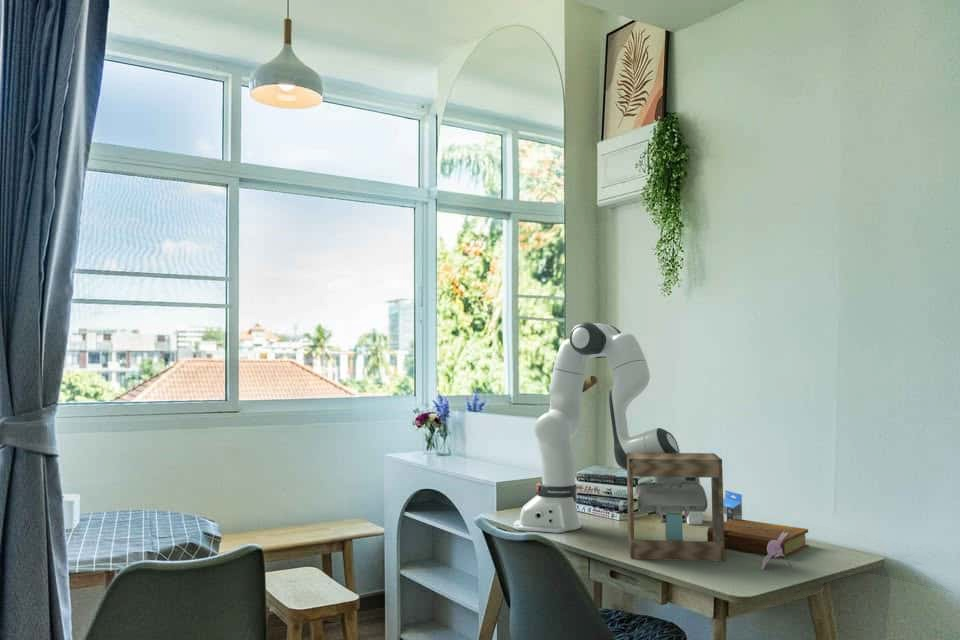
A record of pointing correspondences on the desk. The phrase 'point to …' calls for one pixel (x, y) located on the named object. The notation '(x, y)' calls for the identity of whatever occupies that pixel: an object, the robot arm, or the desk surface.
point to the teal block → (674, 527)
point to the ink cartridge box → (694, 517)
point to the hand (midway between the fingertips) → (674, 521)
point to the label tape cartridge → (732, 506)
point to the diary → (760, 537)
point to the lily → (775, 549)
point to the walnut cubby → (678, 468)
